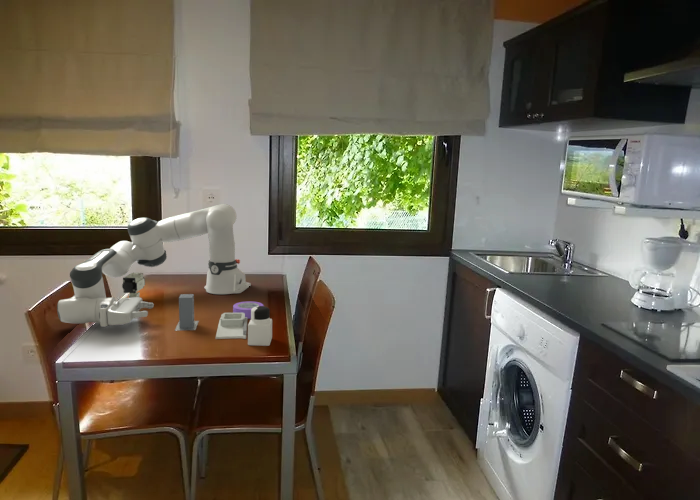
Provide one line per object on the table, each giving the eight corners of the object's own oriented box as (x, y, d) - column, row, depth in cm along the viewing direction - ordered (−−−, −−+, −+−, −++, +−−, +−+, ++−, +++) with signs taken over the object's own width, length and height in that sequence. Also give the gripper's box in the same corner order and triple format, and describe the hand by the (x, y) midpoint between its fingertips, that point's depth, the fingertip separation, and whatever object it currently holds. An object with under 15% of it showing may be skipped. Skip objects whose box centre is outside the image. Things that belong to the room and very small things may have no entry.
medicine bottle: (272, 338, 170) (272, 304, 168) (269, 346, 163) (269, 311, 161) (251, 337, 170) (251, 304, 168) (247, 345, 163) (247, 310, 161)
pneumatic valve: (122, 304, 200) (121, 276, 198) (134, 296, 212) (133, 269, 209) (136, 305, 200) (135, 276, 198) (147, 297, 212) (146, 269, 209)
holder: (220, 320, 186) (220, 311, 186) (247, 319, 188) (247, 310, 188) (215, 339, 167) (215, 329, 166) (246, 338, 169) (246, 328, 168)
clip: (181, 323, 180) (180, 294, 178) (194, 323, 181) (193, 294, 179) (179, 327, 176) (178, 297, 174) (192, 327, 177) (192, 297, 175)
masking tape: (231, 311, 199) (231, 301, 198) (260, 309, 203) (260, 300, 202) (235, 320, 188) (235, 310, 187) (266, 318, 192) (266, 308, 191)
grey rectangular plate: (178, 321, 183) (179, 321, 183) (198, 321, 184) (198, 320, 184) (174, 331, 173) (174, 330, 173) (195, 330, 174) (195, 330, 174)
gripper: (117, 309, 183) (156, 309, 186) (99, 328, 164) (144, 327, 166) (116, 293, 182) (156, 292, 185) (98, 310, 162) (143, 309, 165)
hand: (150, 309), depth 175 cm, fingers open, 8 cm apart
